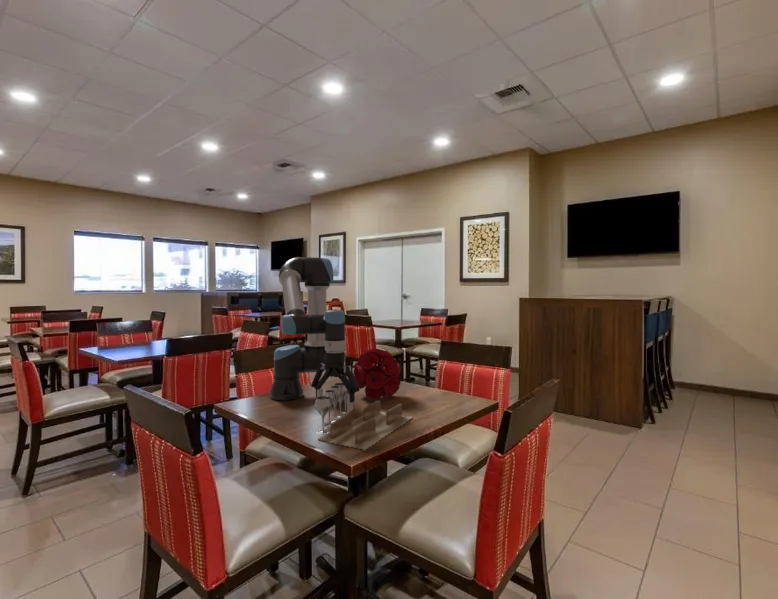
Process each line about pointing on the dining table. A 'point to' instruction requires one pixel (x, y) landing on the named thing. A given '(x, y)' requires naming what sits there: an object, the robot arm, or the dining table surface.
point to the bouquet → (377, 373)
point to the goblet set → (331, 402)
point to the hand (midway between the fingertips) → (334, 408)
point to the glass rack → (365, 427)
